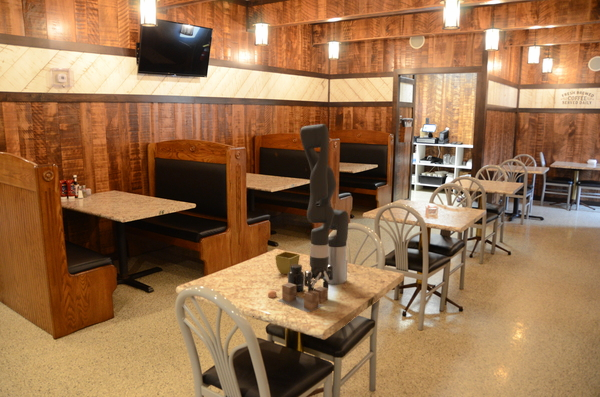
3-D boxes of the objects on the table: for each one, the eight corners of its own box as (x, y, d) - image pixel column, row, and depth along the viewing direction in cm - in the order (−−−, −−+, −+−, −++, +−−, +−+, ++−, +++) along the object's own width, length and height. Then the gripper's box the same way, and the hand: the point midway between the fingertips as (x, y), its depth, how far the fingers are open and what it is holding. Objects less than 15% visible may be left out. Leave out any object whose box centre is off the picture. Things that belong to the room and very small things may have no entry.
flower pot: (300, 272, 234) (300, 254, 233) (290, 277, 227) (290, 258, 225) (285, 268, 239) (285, 251, 237) (274, 273, 232) (274, 255, 230)
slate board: (292, 297, 202) (292, 294, 201) (323, 308, 190) (323, 305, 190) (277, 303, 195) (277, 300, 195) (308, 315, 184) (308, 312, 183)
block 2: (310, 304, 191) (311, 290, 190) (318, 307, 188) (318, 292, 187) (303, 307, 188) (304, 292, 187) (311, 310, 186) (311, 295, 185)
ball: (272, 296, 203) (272, 288, 202) (278, 298, 200) (278, 290, 199) (265, 298, 200) (265, 290, 199) (271, 301, 198) (271, 292, 197)
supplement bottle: (298, 296, 203) (298, 269, 201) (284, 293, 206) (284, 266, 204) (306, 291, 208) (307, 264, 206) (293, 288, 212) (293, 262, 210)
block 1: (289, 296, 199) (289, 282, 198) (296, 299, 197) (296, 285, 196) (282, 299, 196) (282, 285, 195) (289, 301, 194) (289, 287, 193)
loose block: (320, 300, 199) (320, 286, 198) (327, 302, 196) (327, 288, 195) (313, 302, 196) (313, 288, 195) (321, 305, 194) (321, 291, 193)
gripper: (313, 259, 185) (312, 300, 188) (338, 253, 195) (337, 291, 198) (300, 255, 191) (299, 295, 193) (324, 249, 201) (323, 287, 203)
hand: (318, 293), depth 196 cm, fingers open, 8 cm apart
